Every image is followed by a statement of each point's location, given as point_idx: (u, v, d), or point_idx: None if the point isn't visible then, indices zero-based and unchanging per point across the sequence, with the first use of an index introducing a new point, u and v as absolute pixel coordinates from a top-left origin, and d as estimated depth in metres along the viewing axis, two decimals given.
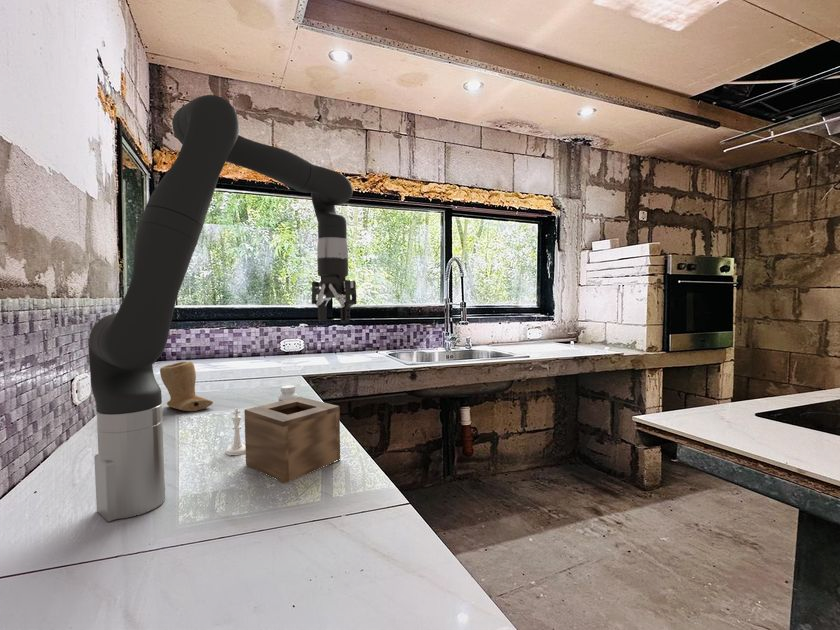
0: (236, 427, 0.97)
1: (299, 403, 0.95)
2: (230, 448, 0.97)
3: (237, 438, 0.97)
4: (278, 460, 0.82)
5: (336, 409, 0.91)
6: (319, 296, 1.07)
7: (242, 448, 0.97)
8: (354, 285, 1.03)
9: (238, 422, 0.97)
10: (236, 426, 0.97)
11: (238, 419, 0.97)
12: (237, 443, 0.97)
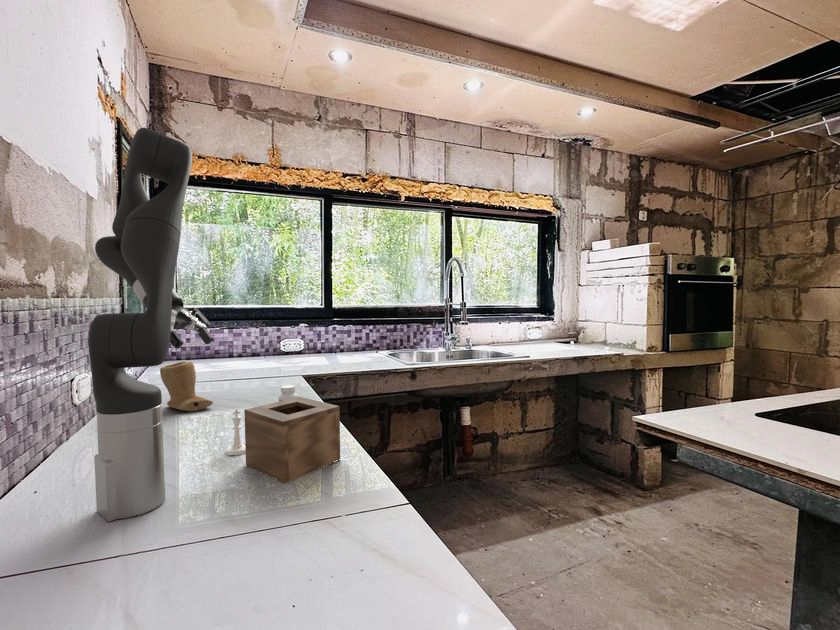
0: (236, 427, 0.97)
1: (299, 403, 0.95)
2: (230, 448, 0.97)
3: (237, 438, 0.97)
4: (278, 460, 0.82)
5: (336, 409, 0.91)
6: (172, 320, 0.98)
7: (242, 448, 0.97)
8: None
9: (238, 422, 0.97)
10: (236, 426, 0.97)
11: (238, 419, 0.97)
12: (237, 443, 0.97)
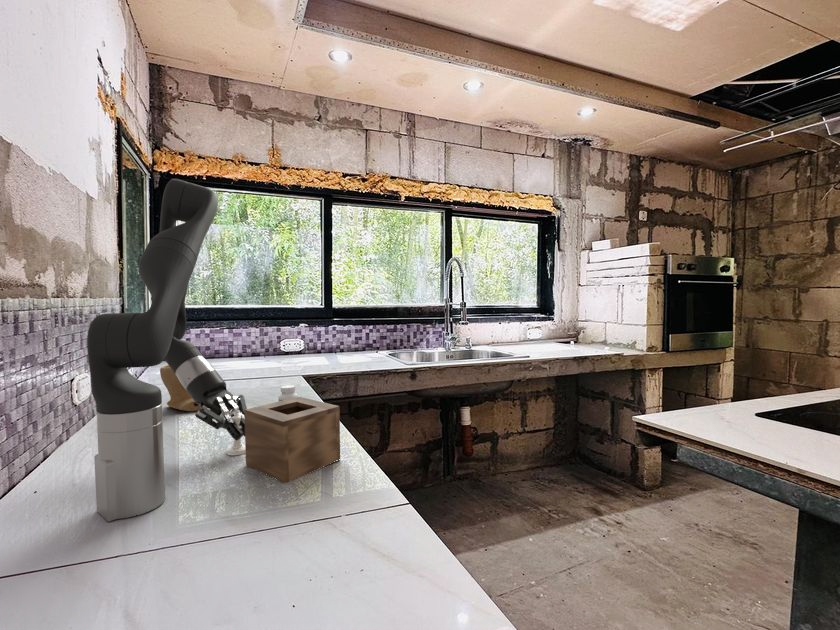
0: None
1: (299, 403, 0.95)
2: (230, 448, 0.97)
3: None
4: (278, 460, 0.82)
5: (336, 409, 0.91)
6: (225, 410, 0.97)
7: (242, 448, 0.97)
8: None
9: (238, 422, 0.97)
10: None
11: (238, 419, 0.97)
12: (237, 443, 0.97)
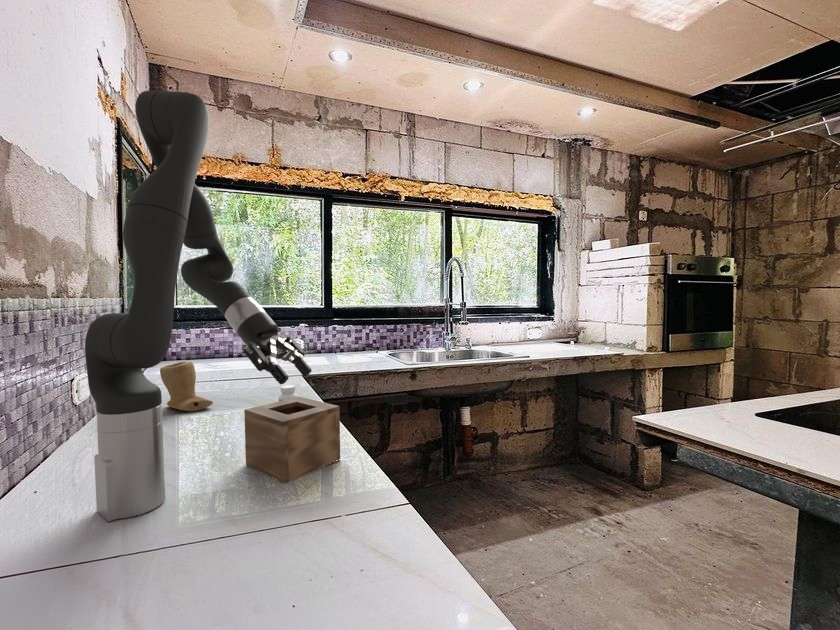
0: None
1: (299, 403, 0.95)
2: None
3: None
4: (278, 460, 0.82)
5: (336, 409, 0.91)
6: (273, 352, 0.88)
7: None
8: None
9: None
10: None
11: None
12: None
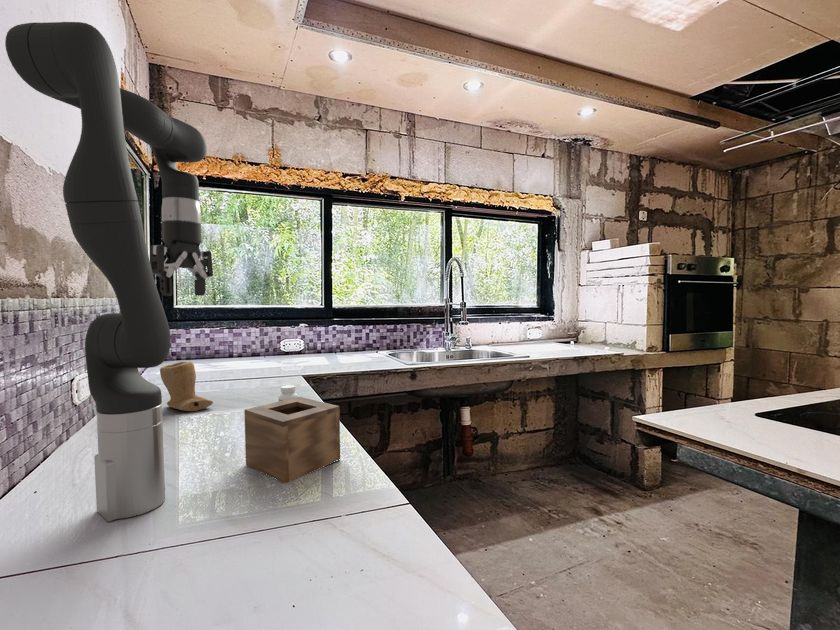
0: None
1: (299, 403, 0.95)
2: None
3: None
4: (278, 460, 0.82)
5: (336, 409, 0.91)
6: (176, 265, 0.90)
7: None
8: None
9: None
10: None
11: None
12: None
